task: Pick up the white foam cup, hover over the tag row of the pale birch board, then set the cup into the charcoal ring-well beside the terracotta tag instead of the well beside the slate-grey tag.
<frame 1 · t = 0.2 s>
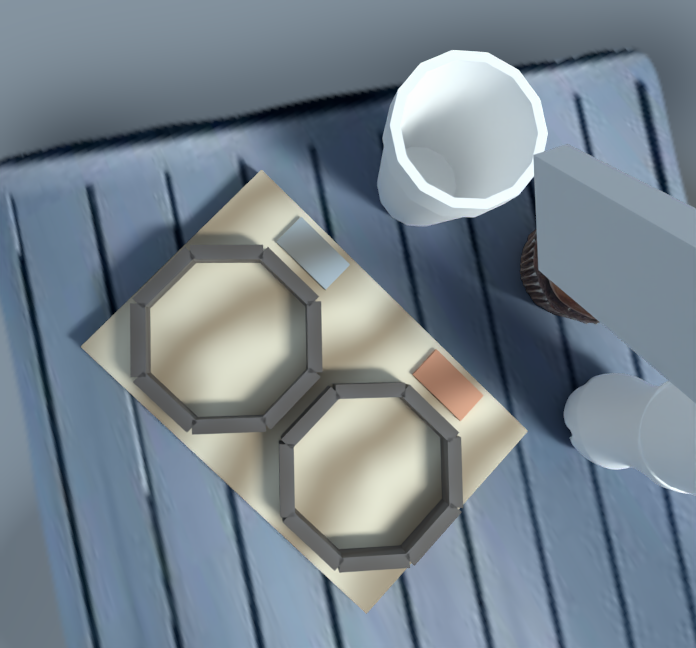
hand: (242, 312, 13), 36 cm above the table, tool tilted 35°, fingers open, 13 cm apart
water bottle: (594, 416, 51), on the table
foam cup: (416, 187, 50), on the table
cupcake: (564, 267, 52), on the table
socket board: (312, 389, 48), on the table
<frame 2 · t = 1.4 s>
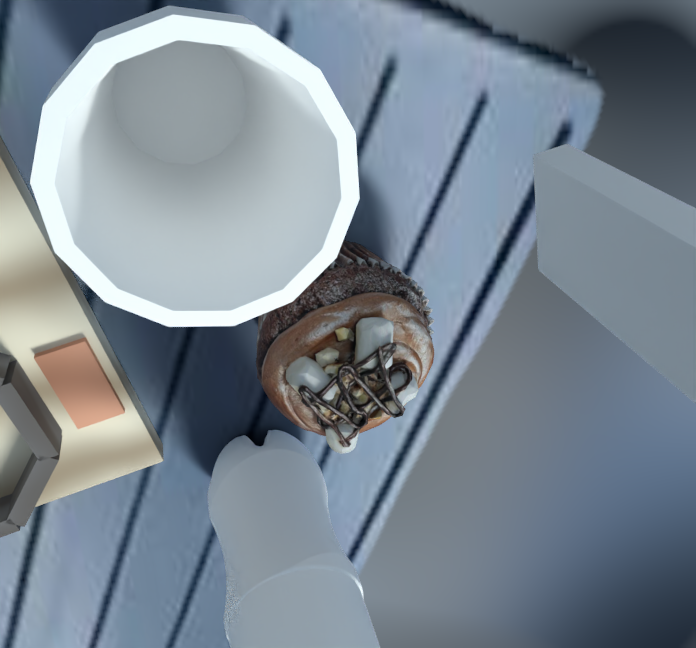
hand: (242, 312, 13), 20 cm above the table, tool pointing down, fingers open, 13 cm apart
water bottle: (258, 458, 42), on the table
foam cup: (180, 96, 30), on the table
cupcake: (324, 299, 38), on the table
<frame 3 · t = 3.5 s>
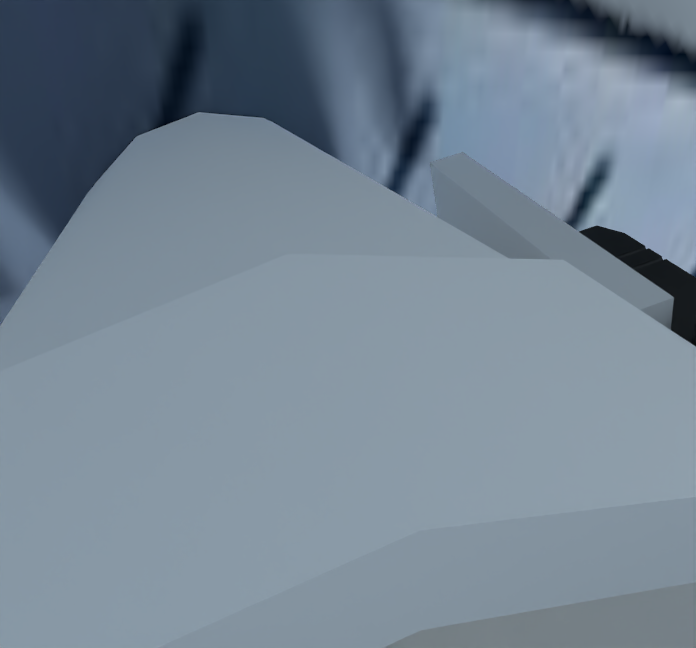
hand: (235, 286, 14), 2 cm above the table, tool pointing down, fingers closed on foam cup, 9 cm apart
foam cup: (223, 242, 16), on the table, touching gripper
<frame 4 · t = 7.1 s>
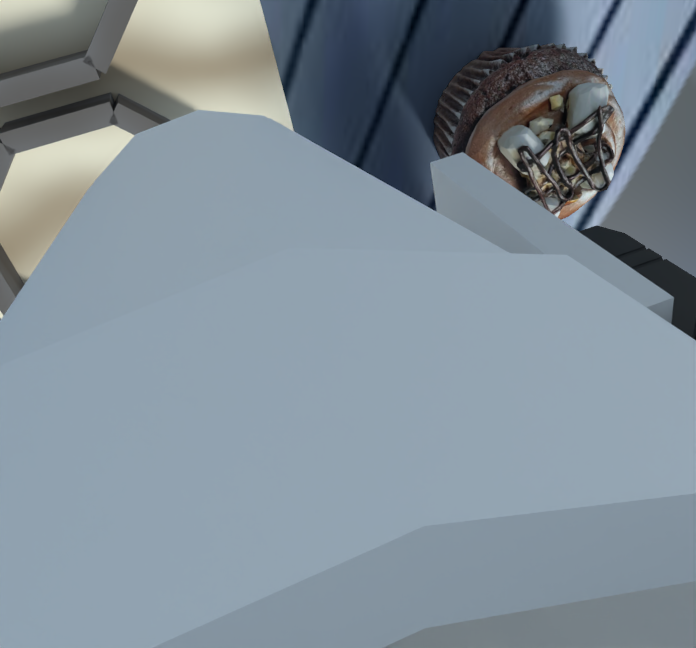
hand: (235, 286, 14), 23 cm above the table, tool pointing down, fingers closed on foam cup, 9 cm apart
foam cup: (223, 241, 16), point 20 cm above the table, touching gripper
cupcake: (492, 117, 38), on the table
socket board: (87, 80, 31), on the table
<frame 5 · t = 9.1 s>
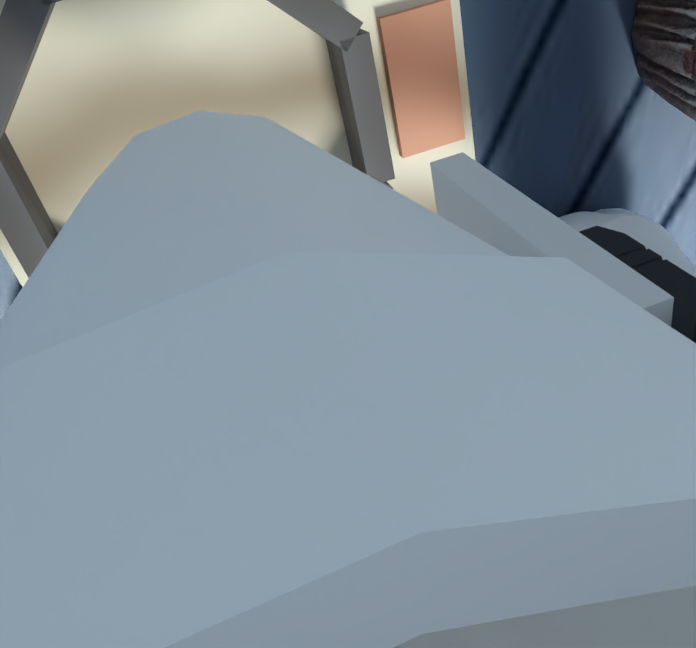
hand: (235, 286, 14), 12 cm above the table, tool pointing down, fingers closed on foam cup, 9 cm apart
water bottle: (565, 259, 32), on the table
foam cup: (222, 242, 16), point 10 cm above the table, touching gripper
when the fingers open (5 cm above the table, at t = 10.9 s): foam cup drops 1 cm, resting on socket board.
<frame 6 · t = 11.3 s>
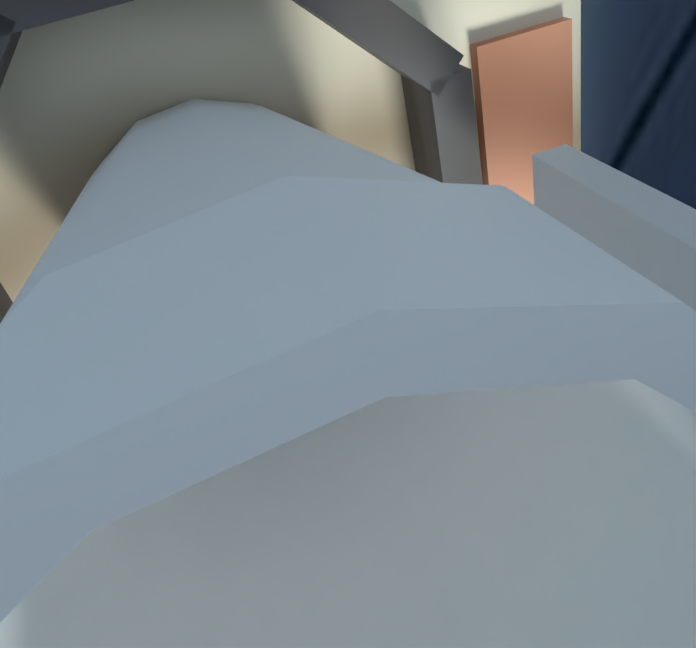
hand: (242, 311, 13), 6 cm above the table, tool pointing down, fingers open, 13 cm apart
foam cup: (217, 221, 17), point 1 cm above the table, touching socket board
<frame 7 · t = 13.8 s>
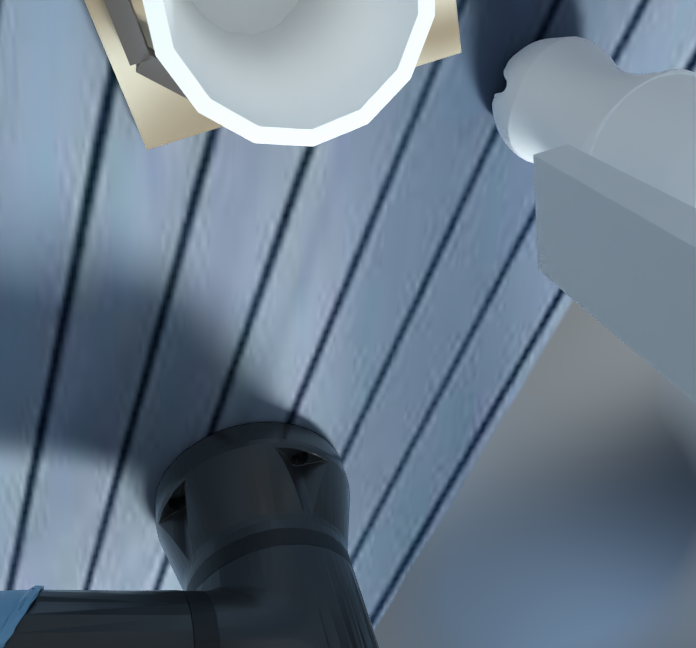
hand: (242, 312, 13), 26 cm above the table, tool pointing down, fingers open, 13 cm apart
water bottle: (531, 90, 40), on the table
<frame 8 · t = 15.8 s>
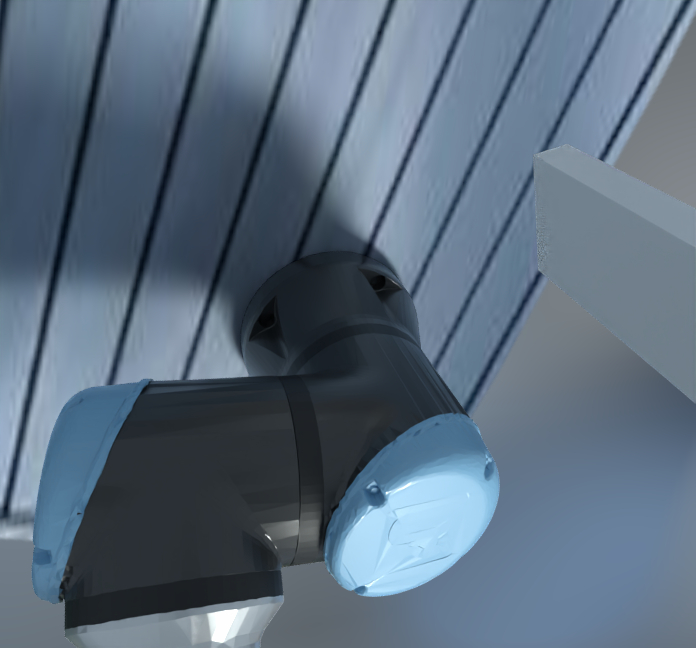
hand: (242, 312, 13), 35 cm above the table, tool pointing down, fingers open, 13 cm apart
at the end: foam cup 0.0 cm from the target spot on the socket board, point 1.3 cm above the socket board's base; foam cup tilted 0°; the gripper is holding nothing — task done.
